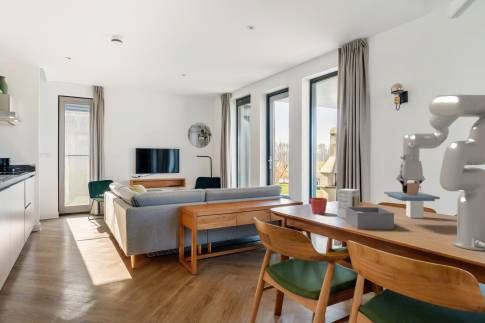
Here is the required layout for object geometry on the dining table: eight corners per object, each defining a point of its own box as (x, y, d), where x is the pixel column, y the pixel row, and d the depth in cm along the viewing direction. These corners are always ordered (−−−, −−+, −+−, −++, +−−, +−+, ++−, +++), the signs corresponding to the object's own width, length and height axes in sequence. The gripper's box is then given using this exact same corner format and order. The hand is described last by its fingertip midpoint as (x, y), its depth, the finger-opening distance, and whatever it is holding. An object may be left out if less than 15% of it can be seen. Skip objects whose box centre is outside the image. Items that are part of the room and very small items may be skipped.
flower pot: (309, 214, 188) (309, 199, 188) (310, 211, 199) (310, 197, 198) (326, 215, 185) (327, 200, 185) (327, 212, 195) (327, 197, 195)
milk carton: (423, 218, 176) (423, 186, 176) (410, 218, 178) (410, 186, 178) (418, 216, 183) (419, 185, 183) (406, 215, 185) (406, 185, 185)
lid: (439, 201, 150) (440, 185, 149) (400, 201, 150) (401, 185, 150) (418, 195, 169) (418, 181, 168) (383, 195, 169) (384, 181, 169)
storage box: (393, 229, 150) (394, 213, 150) (357, 228, 151) (357, 212, 150) (378, 221, 168) (378, 207, 168) (345, 221, 169) (346, 207, 168)
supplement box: (351, 219, 173) (351, 190, 173) (337, 217, 180) (337, 189, 180) (359, 217, 179) (359, 189, 179) (345, 215, 186) (345, 188, 186)
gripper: (398, 158, 155) (397, 193, 156) (431, 158, 155) (430, 193, 155) (391, 158, 163) (390, 191, 163) (423, 158, 162) (422, 192, 163)
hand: (410, 192), depth 159 cm, fingers closed on lid, 5 cm apart
